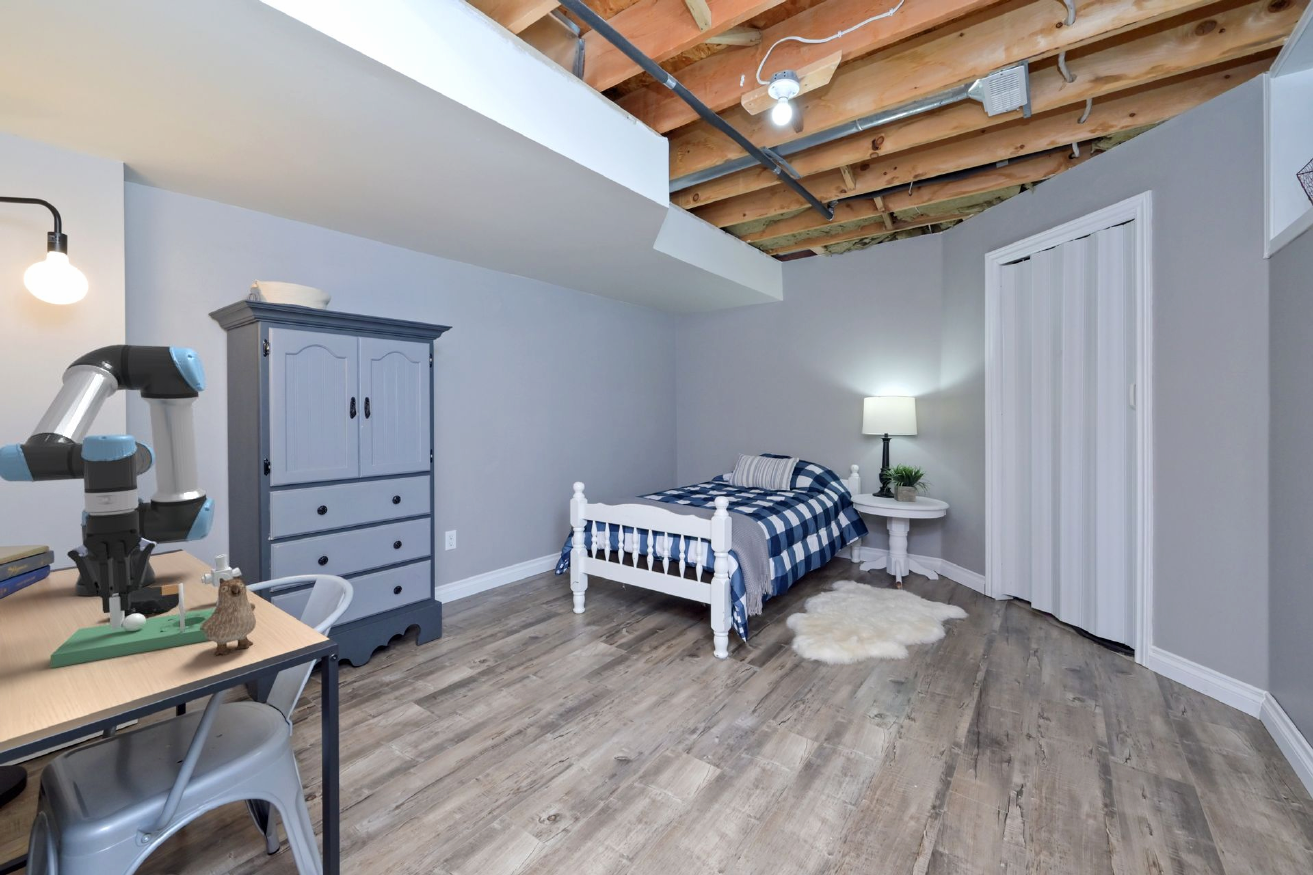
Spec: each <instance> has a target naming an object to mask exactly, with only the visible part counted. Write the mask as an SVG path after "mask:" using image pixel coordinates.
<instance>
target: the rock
mask: <svg viewBox="0 0 1313 875" xmlns="http://www.w3.org/2000/svg"><path fill="white" fill-rule="evenodd" d="M130 601H131V606H130V608H129V609H128V610H124V617H127V616H129V615H131V614H136V613H138V614H142V615H144V616H150V615H156V614H163V613H167V612H170V611H171V610H172V608H176V607H177V606H179V593H177V594H169V595H162V586H143V587H140V588H139V589H138V590H137V591H133V592H131V593H130Z"/></svg>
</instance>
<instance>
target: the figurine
mask: <svg viewBox="0 0 1313 875" xmlns="http://www.w3.org/2000/svg"><path fill="white" fill-rule="evenodd" d="M242 577H243V576H242V575H239V576H236V578H233V579H230V580H224V579H223V578H220V587H219V588H218V592H217V597H218V596H219V603H218V606H216V607H215V608H216V609H215V608H214V609H215V611H214V613H213V614H212V615H211V617H210V618H209V619H207V620H206V621H205V622H204V623H203V624H202V626H201V627H200V628H199V630H205V635H206V638H207V639H209V641H211V642H214V643H216V650H215V652H214V653H213V656H217V655H227V654H228V653H229V652H230V651H231V649H230V648H228V647H227V646H228V645H227V643H231V642H235V641H237V645H236V647H235V648H234V650H240V649H241V650H242V649H249V647H250V646H251V645H254V642H252V641H251V640H249V638H248V637H247V636H248V635H250V634H251V633H252V632H253V631H254V629H255V628H256V625H257V624H256V623H257V621H256V620H257V619H256V615H255V613H254V611H255V609H256V605H255V603H253V602H250V601H249V599H248V595H247V586H246V583H244V582H243V581H242Z"/></svg>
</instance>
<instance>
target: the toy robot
mask: <svg viewBox="0 0 1313 875" xmlns="http://www.w3.org/2000/svg"><path fill="white" fill-rule="evenodd" d="M214 559H215V568H213V569H210V570H211V573H206V574H204V576H201V584H204V585H210V584H211V585H212V586H213V587H214V588H215V587H218V589H219V587H220V578H223V579H224V580H230V579H234V577H236V578H237V577H238V576H239V575H242V574H243V573H242V572H241V570H240V568H239V567H235V568H232V567H230V566H228V554H227V553H223V554H220V555H217V556H215V557H214ZM218 603H219V596H218V595H217V600H216V601H215V602H214V604H215V606H216V607H217V606H218Z"/></svg>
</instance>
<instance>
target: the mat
mask: <svg viewBox="0 0 1313 875" xmlns="http://www.w3.org/2000/svg"><path fill="white" fill-rule="evenodd" d="M161 587H162V595H169V594H177V593H179V604H178V607H179V611H178V612H179V613H176V614H170V615H164V616H163V615H162V616H155V617H149V618H146V623H145V625H144V626H143V627H142V628H141V629H139V630H137V631H127V630H125V629H124V628H123V626H122V627H121V629H114V630H111V627H110V623H109V624H104V625H98V626H97V625H96V626H90V627H83V628H79V629H77V631H75V632H74V633H73V634H72V635H71V636H70V637H69V638H68V639H67V640H65V641H64V642H63V643H62V644H61V645H60V646H59V647H58V648H56V650H54V651H53V652H52V654H50V668H51V669H54V668H59V667H65V666H71V665H77V664H83V663H89V662H95V661H100V660H105V659H111V658H116V657H123V656H128V655H135V654H139V653H145V652H151V651H152V652H153V651H156V650H163V649H169V648H174V647H178V646H185V645H186V646H187V645H190V644H196V643H201V642H207V641H210V640H209V639H207V638H206V635H205V630H199V628H200V627H201V626H202V624H203V623H204V622H205V621H206V620H207V619H209V618H210V617H211V615H212V614H213V613H214V611H215V609H216V607H215V608H207V609H202V610H196V611H190V612H189V611H188V612H185V602H184V601H185V600H184V583H175V584H168V585H161Z"/></svg>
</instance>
